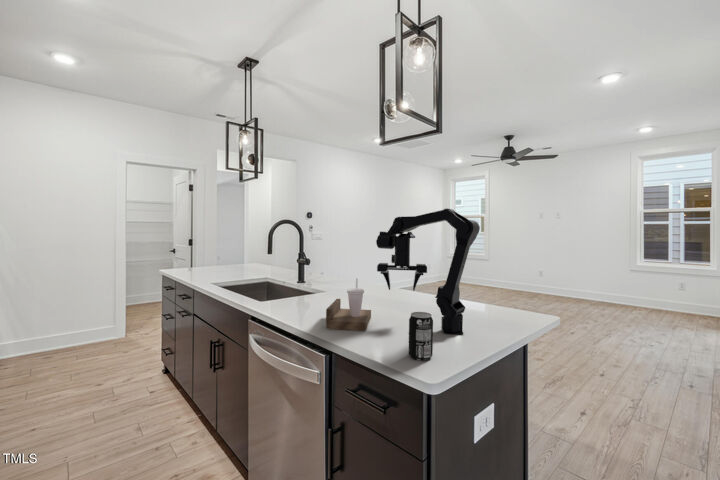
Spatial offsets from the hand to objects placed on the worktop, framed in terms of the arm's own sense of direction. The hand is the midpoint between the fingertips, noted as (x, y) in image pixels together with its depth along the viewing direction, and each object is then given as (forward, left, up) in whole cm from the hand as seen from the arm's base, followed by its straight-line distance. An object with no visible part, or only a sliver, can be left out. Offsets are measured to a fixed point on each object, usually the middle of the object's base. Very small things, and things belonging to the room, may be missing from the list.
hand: (401, 290), depth 129 cm
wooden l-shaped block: (+19, +6, -12) cm, 23 cm away
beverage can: (-6, +35, -12) cm, 38 cm away
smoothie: (+17, +7, -9) cm, 20 cm away
